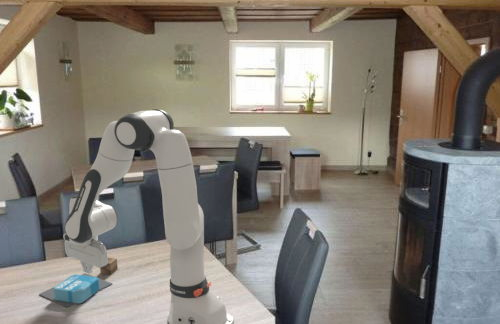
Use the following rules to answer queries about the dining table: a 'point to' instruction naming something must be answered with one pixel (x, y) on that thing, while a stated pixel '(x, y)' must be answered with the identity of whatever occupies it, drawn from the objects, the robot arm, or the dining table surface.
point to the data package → (76, 288)
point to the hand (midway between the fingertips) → (87, 272)
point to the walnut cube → (109, 266)
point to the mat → (50, 295)
